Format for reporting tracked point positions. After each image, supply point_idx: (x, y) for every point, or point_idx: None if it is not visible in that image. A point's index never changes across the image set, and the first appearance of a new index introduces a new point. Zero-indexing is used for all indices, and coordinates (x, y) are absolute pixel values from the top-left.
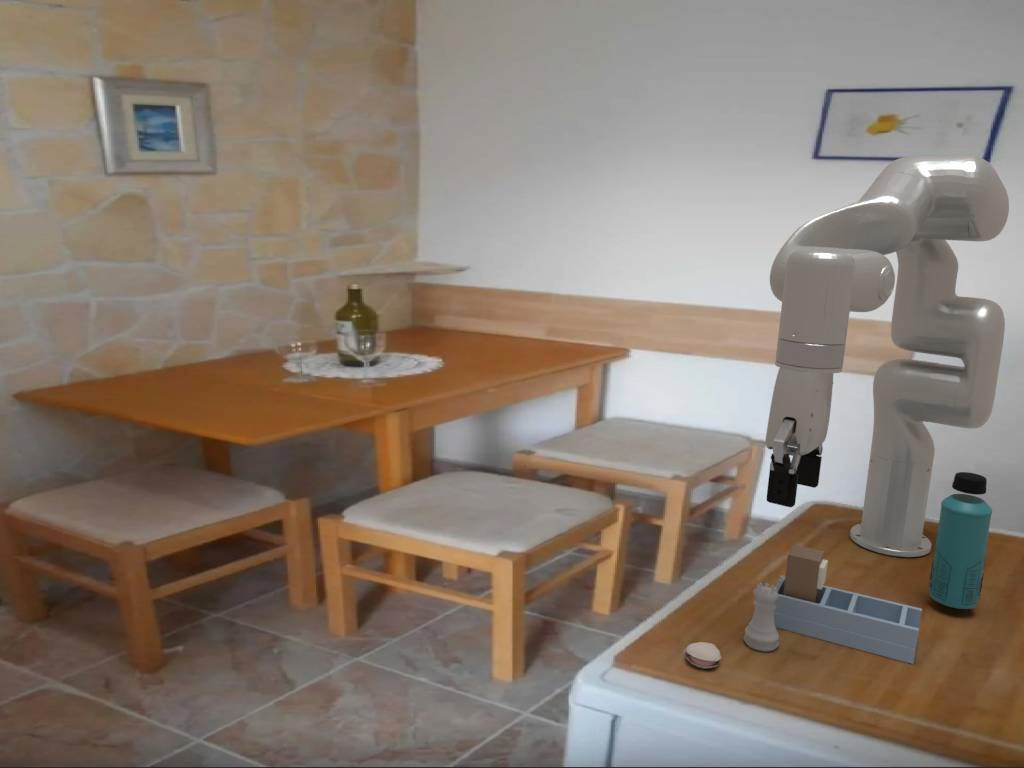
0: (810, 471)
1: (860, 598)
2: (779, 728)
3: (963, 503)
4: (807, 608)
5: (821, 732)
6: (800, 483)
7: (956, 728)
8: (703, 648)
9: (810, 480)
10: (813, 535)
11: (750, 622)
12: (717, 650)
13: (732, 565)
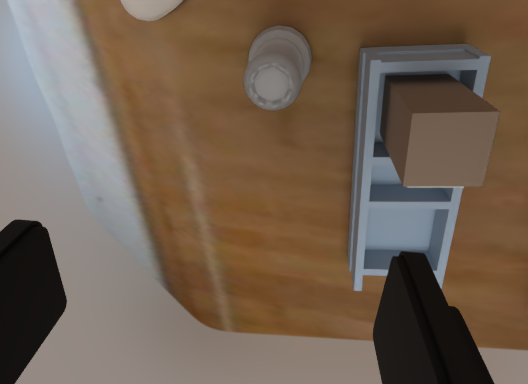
0: (390, 373)
1: (446, 211)
2: (81, 139)
3: None
4: (363, 134)
5: (112, 182)
6: (387, 285)
7: (225, 293)
8: None
9: (382, 337)
10: None
11: (277, 40)
12: (157, 10)
13: None
